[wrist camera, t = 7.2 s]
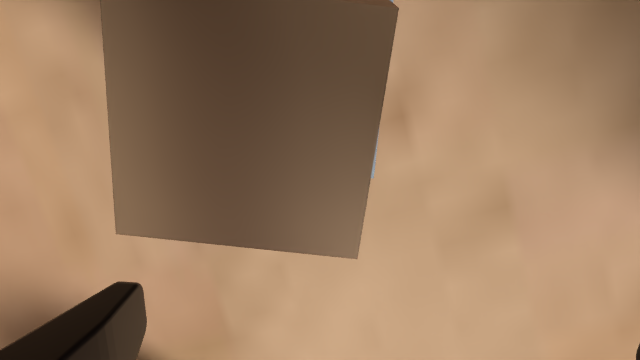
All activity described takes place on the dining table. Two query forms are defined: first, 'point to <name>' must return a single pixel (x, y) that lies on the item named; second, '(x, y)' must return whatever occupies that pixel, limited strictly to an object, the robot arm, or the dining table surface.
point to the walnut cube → (246, 119)
